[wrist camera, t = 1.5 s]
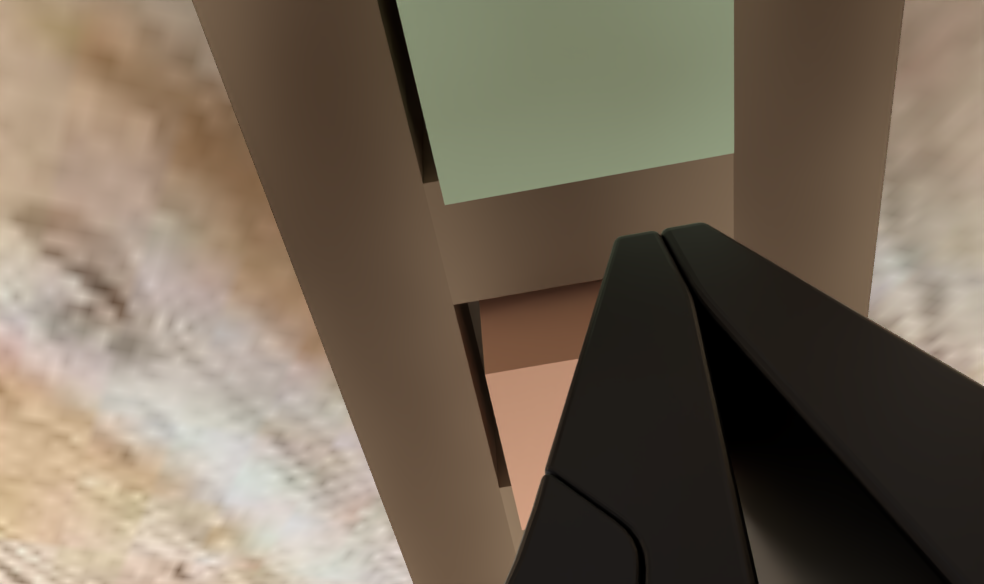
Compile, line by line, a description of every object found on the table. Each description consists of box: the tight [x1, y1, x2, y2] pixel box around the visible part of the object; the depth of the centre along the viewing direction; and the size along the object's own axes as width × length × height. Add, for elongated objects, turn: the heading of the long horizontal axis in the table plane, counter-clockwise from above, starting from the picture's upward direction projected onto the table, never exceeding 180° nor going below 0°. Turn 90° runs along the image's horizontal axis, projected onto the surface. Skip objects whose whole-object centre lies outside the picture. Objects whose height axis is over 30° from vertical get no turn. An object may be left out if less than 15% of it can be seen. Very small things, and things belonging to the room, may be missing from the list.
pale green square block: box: [396, 0, 734, 205], centre depth 14 cm, size 5×5×3 cm
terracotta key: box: [479, 279, 603, 530], centre depth 20 cm, size 5×5×3 cm
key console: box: [192, 0, 905, 584], centre depth 22 cm, size 12×28×4 cm, turn 10°
